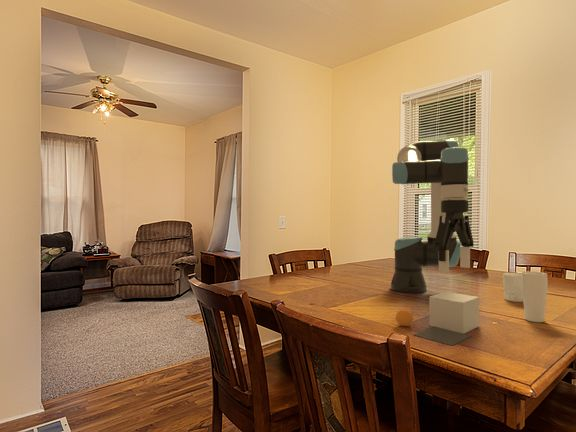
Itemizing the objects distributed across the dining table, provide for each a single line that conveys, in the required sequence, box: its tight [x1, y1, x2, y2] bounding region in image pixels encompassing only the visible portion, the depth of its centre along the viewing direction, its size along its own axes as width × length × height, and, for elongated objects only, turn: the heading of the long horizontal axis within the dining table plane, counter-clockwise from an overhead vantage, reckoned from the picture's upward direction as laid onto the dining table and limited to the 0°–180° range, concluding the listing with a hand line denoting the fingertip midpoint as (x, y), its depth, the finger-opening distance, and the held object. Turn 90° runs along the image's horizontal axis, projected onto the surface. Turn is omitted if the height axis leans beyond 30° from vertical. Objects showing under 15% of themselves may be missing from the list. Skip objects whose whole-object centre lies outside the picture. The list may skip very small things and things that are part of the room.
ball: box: [395, 308, 414, 327], centre depth 112 cm, size 5×5×5 cm
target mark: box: [413, 326, 472, 346], centre depth 103 cm, size 11×11×1 cm
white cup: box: [502, 272, 523, 303], centre depth 143 cm, size 8×8×10 cm
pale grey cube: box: [428, 291, 480, 334], centre depth 111 cm, size 10×10×9 cm
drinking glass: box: [521, 270, 548, 323], centre depth 116 cm, size 7×7×15 cm
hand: (454, 270), depth 111 cm, fingers open, 13 cm apart
